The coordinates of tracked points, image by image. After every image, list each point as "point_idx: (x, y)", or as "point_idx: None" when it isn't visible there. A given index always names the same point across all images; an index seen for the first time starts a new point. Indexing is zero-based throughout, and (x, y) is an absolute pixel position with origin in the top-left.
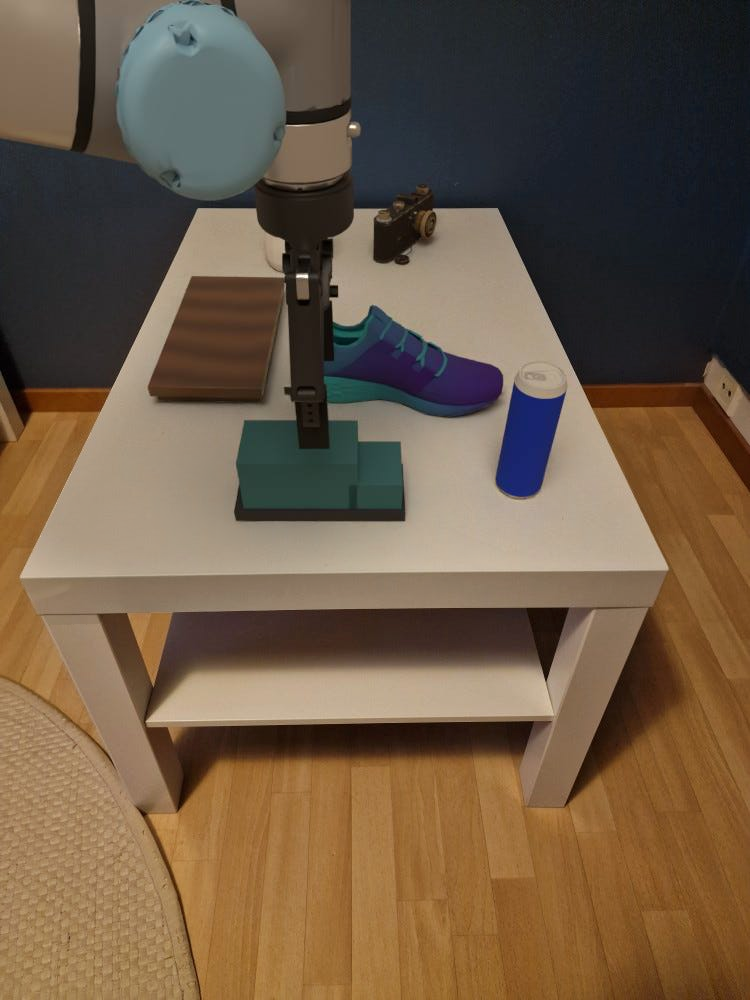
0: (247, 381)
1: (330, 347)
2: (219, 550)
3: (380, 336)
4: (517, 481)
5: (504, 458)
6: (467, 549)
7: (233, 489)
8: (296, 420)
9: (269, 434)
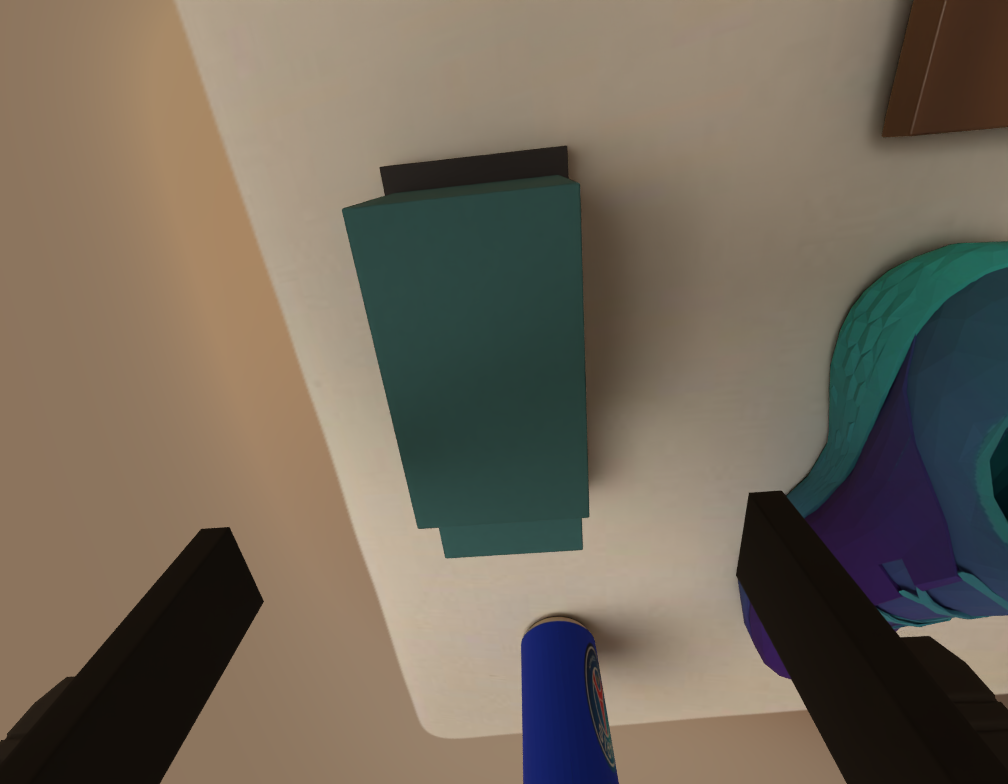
0: (968, 69)
1: (768, 622)
2: (289, 147)
3: (972, 577)
4: (523, 670)
5: (545, 687)
6: (408, 577)
7: (497, 129)
8: (98, 649)
9: (505, 293)
